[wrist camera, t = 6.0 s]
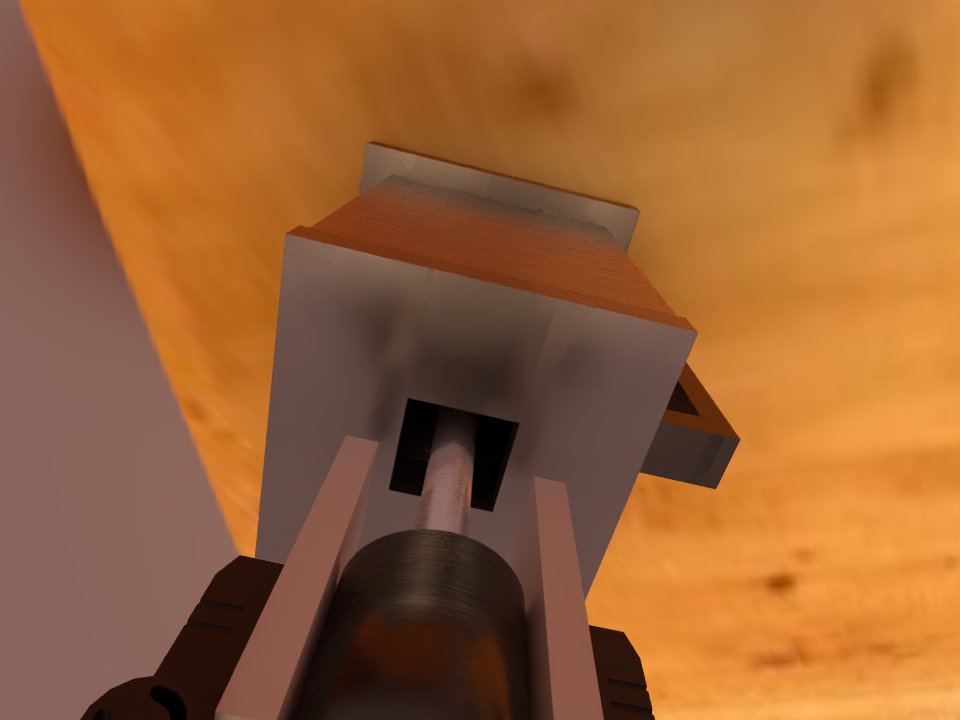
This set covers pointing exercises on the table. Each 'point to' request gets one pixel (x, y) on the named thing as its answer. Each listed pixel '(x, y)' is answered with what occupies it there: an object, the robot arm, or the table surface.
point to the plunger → (425, 613)
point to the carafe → (479, 355)
